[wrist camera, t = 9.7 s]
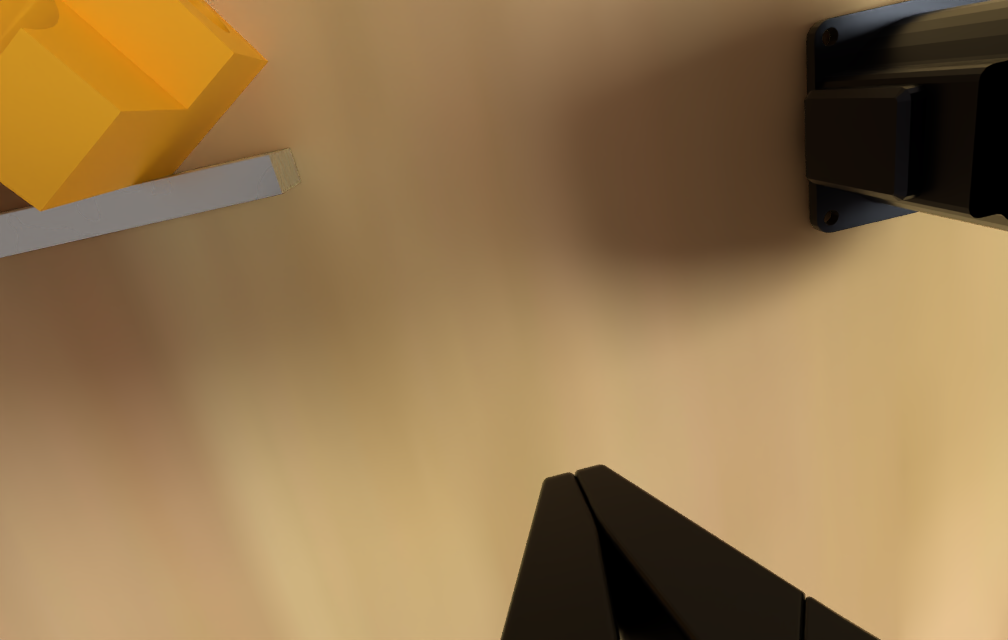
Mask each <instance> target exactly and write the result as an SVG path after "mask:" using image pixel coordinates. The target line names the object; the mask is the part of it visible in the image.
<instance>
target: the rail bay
mask: <svg viewBox="0 0 1008 640" xmlns="http://www.w3.org/2000/svg"><path fill="white" fill-rule="evenodd" d="M300 182H301V180H300V177H299V174H298V171H297V168H296V165H295V162H294V158H293V155H292V152H291V149H290V148H288V149H283V150H279V151H274V152H270V153H265V154H261V155H256V156H252V157H247V158H243V159H238V160H234V161H230V162H225V163H221V164H216V165H212V166H207V167H203V168H198V169H194V170H189V171H185V172H180V173H176V174H171V175H168V176H164V177H161V178H157V179H154V180H150V181H146V182H143V183H139V184H136V185H132V186H129V187H126V188H122V189H118V190H115V191H111V192H108V193H104V194H101V195H97V196H94V197H90V198H86V199H83V200H79V201H76V202H72V203H69V204H65V205H62V206H58V207H54V208H51V209H47V210H44V211H39V210H37V209H36V208H35V207H33V206H28V207H24V208H19V209H15V210H10V211H6V212H1V213H0V258H1V257H6V256H10V255H15V254H19V253H23V252H28V251H32V250H37V249H41V248H45V247H50V246H54V245H59V244H63V243H68V242H72V241H76V240H81V239H85V238H90V237H94V236H98V235H103V234H107V233H112V232H116V231H120V230H125V229H129V228H134V227H138V226H143V225H147V224H151V223H156V222H160V221H165V220H169V219H173V218H178V217H182V216H187V215H191V214H196V213H200V212H204V211H209V210H213V209H218V208H222V207H226V206H231V205H235V204H240V203H244V202H249V201H253V200H257V199H262V198H266V197H271V196H275V195H279V194H283V193H284V192H286V191H288V190H289V189H291V188H292V187H294V186H295V185H297V184H299V183H300Z"/></svg>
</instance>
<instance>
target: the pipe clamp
mask: <svg viewBox="0 0 1008 640" xmlns="http://www.w3.org/2000/svg"><path fill="white" fill-rule="evenodd" d="M267 62H268V61H267V60H266V59H265V58H264V57H263V56H262V55H261V54H260V53H259V52H258V51H257V50H256V49H255V48H253V47H252V46H251V45H250V44H249V43H248V42H247V41H246V40H245V39H244V38H243V37H242V36H241V35H240V34H239V33H238V32H237V31H236V30H234V29H233V28H232V27H231V26H230V25H229V24H228V23H227V22H226V21H225V20H224V19H223V18H222V17H221V16H220V15H219V14H218V13H216V12H215V11H214V10H213V9H212V8H211V7H210V6H209V5H208V4H207V3H206V2H205V1H204V0H0V182H1V183H2V184H4V185H5V186H6V187H8V188H9V189H10V190H12V191H13V192H14V193H16V194H17V195H19V196H20V197H21V198H23V199H24V200H25V201H27V202H28V203H29V204H31V205H32V206H33V207H35V208H36V209H37V210H39V211H44V210H47V209H51V208H54V207H58V206H62V205H65V204H69V203H72V202H76V201H79V200H83V199H86V198H90V197H94V196H97V195H101V194H104V193H108V192H111V191H115V190H118V189H122V188H126V187H129V186H132V185H136V184H139V183H143V182H146V181H150V180H154V179H157V178H161V177H164V176H168V175H171V174H173V173H174V172H175V171H176V169H177V168H178V167H179V166H180V165H181V164H182V162H183V161H184V160H185V159H186V158H187V156H188V155H189V154H190V153H191V152H192V151H193V149H194V148H195V147H196V146H197V145H198V143H199V142H200V141H201V140H202V139H203V138H204V136H205V135H206V134H207V133H208V132H209V131H210V129H211V128H212V127H213V126H214V125H215V123H216V122H217V121H218V120H219V119H220V118H221V116H222V115H223V114H224V113H225V112H226V110H227V109H228V108H229V107H230V106H231V105H232V103H233V102H234V101H235V100H236V99H237V98H238V96H239V95H240V94H241V93H242V92H243V90H244V89H245V88H246V87H247V86H248V85H249V83H250V82H251V81H252V80H253V79H254V77H255V76H256V75H257V74H258V73H259V72H260V70H261V69H262V68H263V67H264V66H265V65H266V63H267Z"/></svg>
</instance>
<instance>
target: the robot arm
mask: <svg viewBox="0 0 1008 640" xmlns="http://www.w3.org/2000/svg"><path fill="white" fill-rule="evenodd" d="M825 30H827V31H829V34H830V40H829V42H828V44H827V45H825V44H823V41H822V36H823V33H824V32H825ZM806 54H807V97H806V99H805V101H804V111H805V158H806V177H807V178H808V179H809V209H810V223H811V225H812V226H813V228H815V229H817V230H820V231H823V232H826V233H830V232H835V231H840V230H844V229H848V228H852V227H856V226H861V225H865V224H869V223H873V222H877V221H882V220H886V219H890V218H894V217H898V216H903V215H907V214H911V213H915V212H923V213H927V214H932V215H936V216H941V217H945V218H950V219H954V220H959V221H963V222H968V223H972V224H977V225H981V226H986V227H990V228H995V229H999V230H1004V231H1008V0H910V1H906V2H901V3H897V4H892V5H888V6H883V7H879V8H874V9H870V10H865V11H861V12H856V13H852V14H847V15H843V16H838V17H834V18H829V19H825V20H821V21H819V22H817V23H815V24H814V25H813V26H812V27H811V28H810V30H809V32H808V34H807V40H806ZM829 211H831V217H830V219H829V220H828V221H827V222H824V217H825V215H826V213H827V212H829ZM501 640H880V639H879V638H877V637H875V636H874V635H872V634H870V633H869V632H867V631H865V630H864V629H862V628H860V627H859V626H857V625H855V624H854V623H852V622H850V621H849V620H847V619H846V618H844V617H842V616H841V615H839V614H837V613H836V612H834V611H833V610H831V609H830V608H828V607H826V606H825V605H823V604H822V603H820V602H819V601H817V600H815V599H814V598H812V597H807V598H805V594H804V592H802V591H801V590H799V589H798V588H796V587H795V586H793V585H791V584H790V583H788V582H787V581H785V580H784V579H782V578H781V577H779V576H777V575H776V574H774V573H773V572H771V571H770V570H768V569H766V568H765V567H763V566H762V565H760V564H759V563H757V562H755V561H754V560H752V559H751V558H749V557H748V556H746V555H744V554H743V553H741V552H740V551H738V550H737V549H735V548H733V547H732V546H730V545H729V544H727V543H726V542H724V541H723V540H721V539H719V538H718V537H716V536H715V535H713V534H712V533H710V532H708V531H707V530H705V529H704V528H702V527H701V526H699V525H697V524H696V523H694V522H693V521H691V520H690V519H688V518H686V517H685V516H683V515H682V514H680V513H679V512H677V511H675V510H674V509H672V508H671V507H669V506H668V505H666V504H665V503H663V502H661V501H660V500H658V499H657V498H655V497H654V496H652V495H650V494H649V493H647V492H646V491H644V490H643V489H641V488H639V487H638V486H636V485H635V484H633V483H632V482H630V481H628V480H627V479H625V478H624V477H622V476H621V475H619V474H617V473H616V472H614V471H613V470H611V469H610V468H608V467H607V466H605V465H596V466H592V467H588V468H584V469H580V470H577V471H576V472H575V476H574V475H573V474H572V473H570V472H569V473H564V474H560V475H556V476H552V477H548V478H546V479H545V480H544V481H543V484H542V488H541V492H540V495H539V499H538V503H537V506H536V510H535V514H534V517H533V521H532V525H531V529H530V532H529V536H528V540H527V543H526V547H525V551H524V555H523V558H522V562H521V566H520V569H519V573H518V577H517V581H516V584H515V588H514V592H513V595H512V599H511V603H510V607H509V610H508V614H507V618H506V621H505V625H504V629H503V632H502V636H501Z"/></svg>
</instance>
